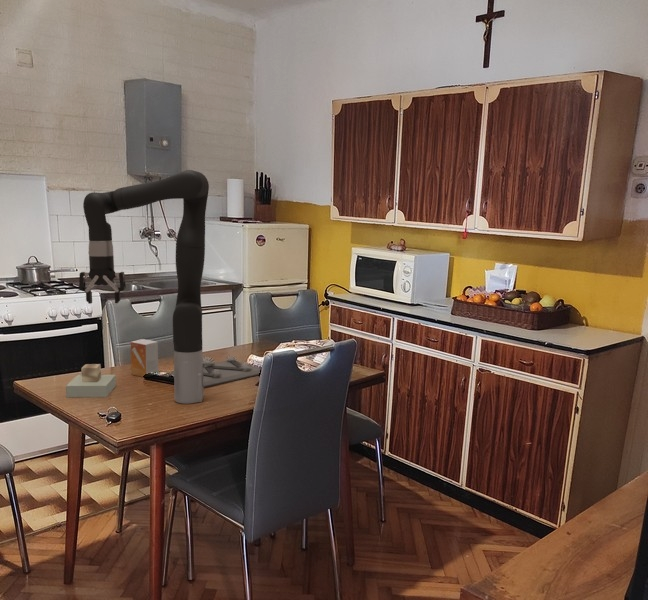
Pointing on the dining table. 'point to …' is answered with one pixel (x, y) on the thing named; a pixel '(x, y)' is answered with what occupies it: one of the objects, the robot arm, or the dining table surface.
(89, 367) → the maple cube
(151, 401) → the dining table surface
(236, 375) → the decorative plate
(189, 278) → the robot arm
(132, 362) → the small box
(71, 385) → the plate
